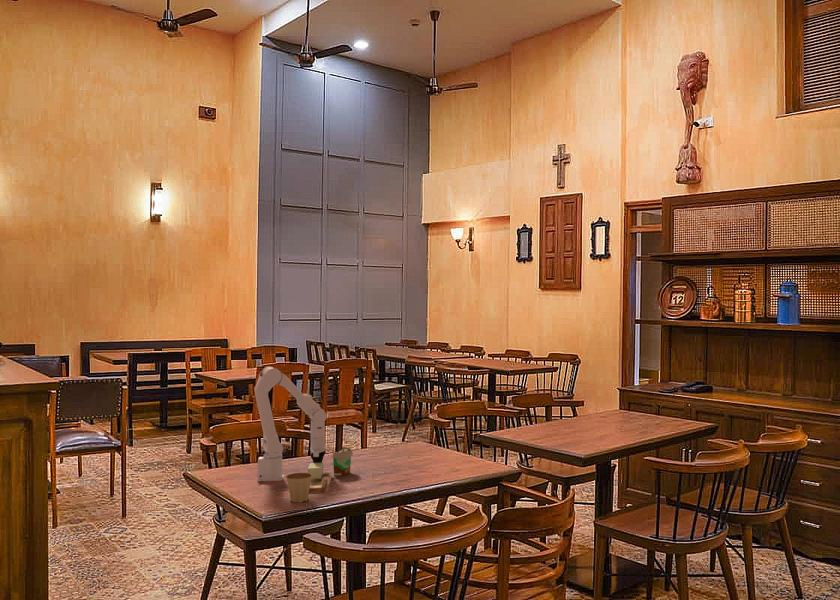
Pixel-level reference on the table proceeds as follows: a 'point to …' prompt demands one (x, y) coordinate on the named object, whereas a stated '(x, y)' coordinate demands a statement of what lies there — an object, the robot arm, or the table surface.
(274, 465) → the robot arm
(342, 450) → the food container
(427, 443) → the table surface
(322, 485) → the dock board
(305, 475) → the flower pot
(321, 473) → the cream rectangular block
